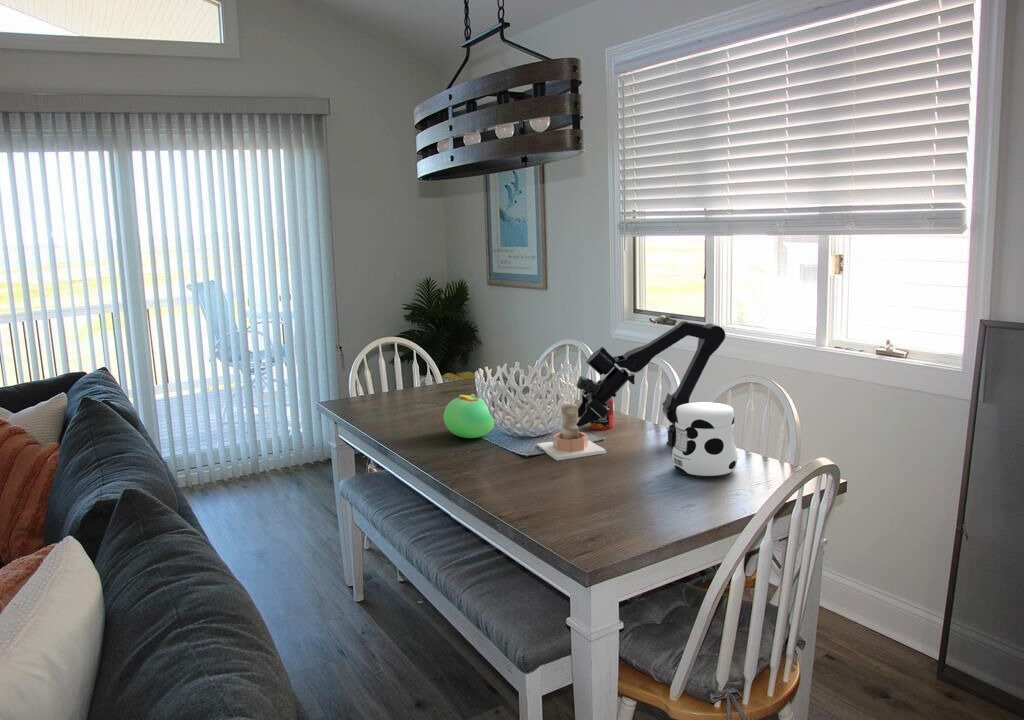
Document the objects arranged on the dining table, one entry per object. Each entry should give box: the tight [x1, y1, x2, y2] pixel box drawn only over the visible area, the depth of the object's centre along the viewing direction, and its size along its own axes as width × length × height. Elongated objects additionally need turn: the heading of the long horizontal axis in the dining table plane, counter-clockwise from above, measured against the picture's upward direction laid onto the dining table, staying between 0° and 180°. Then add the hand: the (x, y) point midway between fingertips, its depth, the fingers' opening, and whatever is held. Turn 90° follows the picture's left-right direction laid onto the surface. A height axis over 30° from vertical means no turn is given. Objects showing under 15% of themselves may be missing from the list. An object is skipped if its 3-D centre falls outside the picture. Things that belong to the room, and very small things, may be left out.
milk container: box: [671, 401, 738, 479], centre depth 210 cm, size 17×17×18 cm
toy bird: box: [443, 393, 496, 439], centre depth 255 cm, size 18×17×15 cm
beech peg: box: [560, 403, 580, 440], centre depth 236 cm, size 5×5×13 cm
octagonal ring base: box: [536, 431, 607, 461], centre depth 237 cm, size 16×16×4 cm
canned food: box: [589, 397, 614, 431], centre depth 260 cm, size 8×8×11 cm
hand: (576, 422), depth 235 cm, fingers open, 9 cm apart
